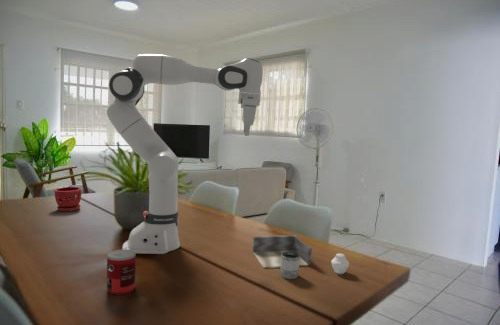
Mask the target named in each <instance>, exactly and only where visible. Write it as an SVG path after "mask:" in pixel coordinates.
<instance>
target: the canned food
mask: <svg viewBox="0 0 500 325" xmlns="http://www.w3.org/2000/svg"><path fill="white" fill-rule="evenodd" d="M136 254H137V253H135V252H134V251H132V250H126V249H122V248H121V249H116V250H112V251H110V252H108V253H107V256H106V289H107V292H108V293H109V294H110V295H114V294H116V296H120V295H121V296H123V295H127V294H131V293H132V292H133V291H134V290H135V287H136V265H137V264H136V260H137V259H136V256H137V255H136ZM122 294H123V295H122Z"/></svg>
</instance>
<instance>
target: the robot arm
mask: <svg viewBox="0 0 500 325" xmlns="http://www.w3.org/2000/svg"><path fill="white" fill-rule="evenodd" d="M263 72H264V70H263V64H262V63H261V62H260V61H259V60H256V59H253V58H249V57H246V58H244V59H242V60H240V61H238V62H235V63H232V64H226V65H225V66H223V67H220V68H209V67H201V66H197V65H193V64H191V63H189V62H187V61H185V60H183V59H182V58H178V57H175V56H173V55H172V56H171V55H168V54H167V55H166V54H158V53H143V54H138V55H136V56H135V58H134V59H133V61H132V67H127V68H126V69H123V70H120V71H118V72H115V73H114V74H113V75H111V77H110V78H109V84H108V86H109V91H110V93H111V94H112V96H113V97H114V98H115V99H114V101H113V102H111V103H110V104H109V106H108V108H107V109H106V116H107V117H108V119H109V121H110V123H111V124H112V125H113V127H114V128H115V130H116V131H117V133H118V134H119V136H120V137H121V138H123V140H124V141H125V142H126V144H128V146H129V147H130V148H131V149H132V150H133V151H134V152H135V153H136V154H137V155H138V156H139V157H140V158H141V159H142V160H143V161H144V162H145V163H146V165H148V189H149V191H148V192H149V197H148V198H149V200H148V207H149V208H148V211H147V210H145V211H143V214H142V216H143V221H142V222H141V223H140V224H138V225H137V226H136V227H134V228H133V229H132V230H131V231H130V232H129V237H128V240H125V242H124V243H123V244H122V248H121V250H122V249H126V250H132V251H134V252H135V254H144V255H145V254H150V255H151V254H152V255H153V254H154V255H155V254H156V255H165V254H167V253H168V252H171V251H175V250H177V249H179V248H180V247H181V242H180V238H179V230H178V225H179V212H178V196H179V195H178V192H179V191H178V190H179V188H178V187H179V186H178V185H179V182H178V180H179V179H178V178H179V158H178V157H177V155H176V154H175V153H174V152H173V150H172V149H171V148H170V147H169V146H168V144H166V142H165V141H164V140H163V139H162V138H161V137H160V135H159V134H158V133H157V132H156V131H155V129H154V128H153V127H152V126H151V125H150V124H149V122H148V121H147V120H146V119H145V118H144V117H143V114H141V113H140V112H139V110H138V109H137V105H138V103H139V102H140V100H141V99H142V98H143V96H144V94H145V86H146V85H149V84H156V85H157V84H158V85H166V86H167V85H168V86H173V85H175V86H177V85H182V84H183V85H184V84H187V83H200V84H201V83H202V84H208V85H209V84H210V85H214V86H216V87H219V88H220V89H222V90H223V91H233V90H237V89H238V100H237V101H238V102H237V103H238V104H239V105H240V108H241V109H242V116H241V117H242V118H241V121H242V123H243V133H244V136H246V137H248V136H250V131H251V126H253V125H254V122H255V118H256V113H257V107H259V106H260V105H261V97H262V96H261V94H262V91H261V89H262V88H261V86H262V84H263V74H264V73H263Z"/></svg>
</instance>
